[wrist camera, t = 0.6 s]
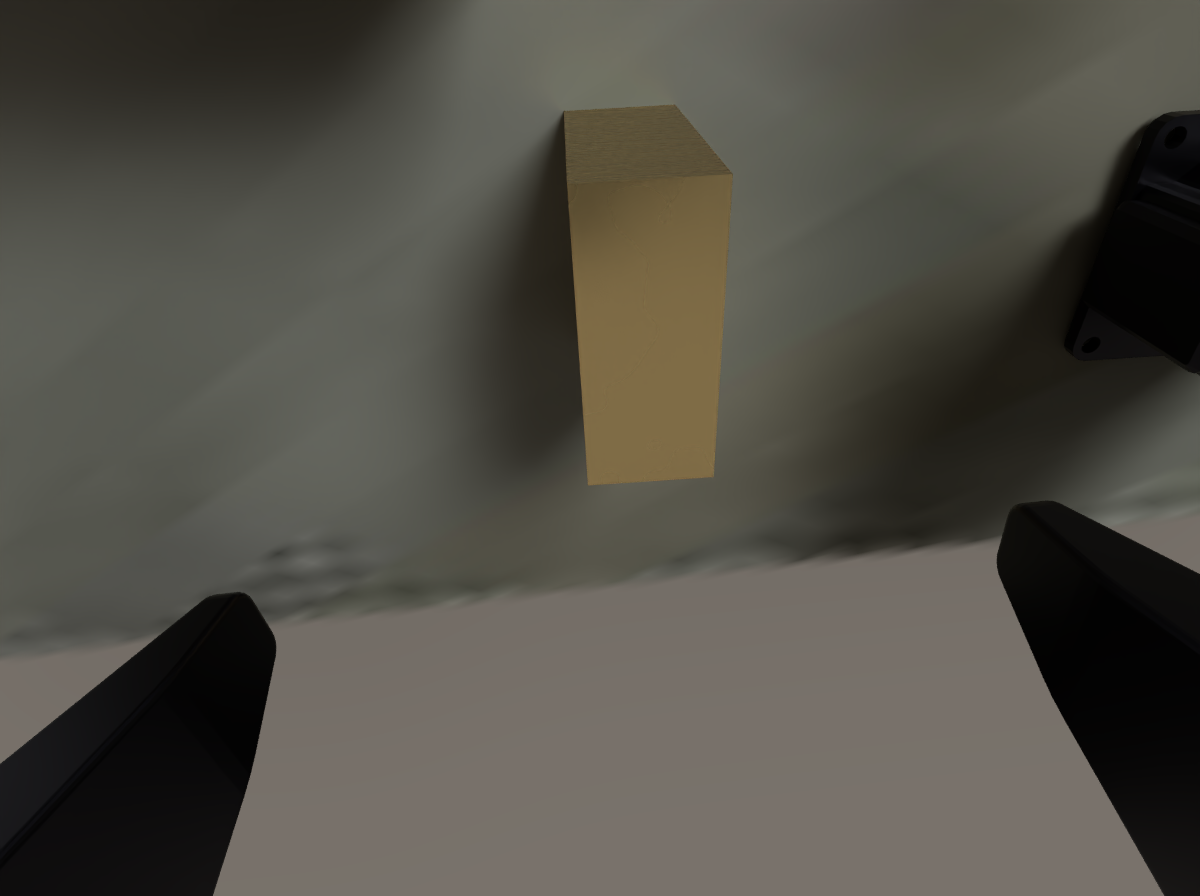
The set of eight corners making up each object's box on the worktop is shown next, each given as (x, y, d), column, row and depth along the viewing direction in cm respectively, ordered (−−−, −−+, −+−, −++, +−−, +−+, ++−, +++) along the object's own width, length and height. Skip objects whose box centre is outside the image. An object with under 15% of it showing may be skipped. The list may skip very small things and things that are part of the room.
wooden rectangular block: (674, 104, 16) (732, 174, 11) (671, 337, 20) (713, 476, 14) (563, 110, 16) (567, 184, 11) (579, 343, 20) (587, 485, 14)
